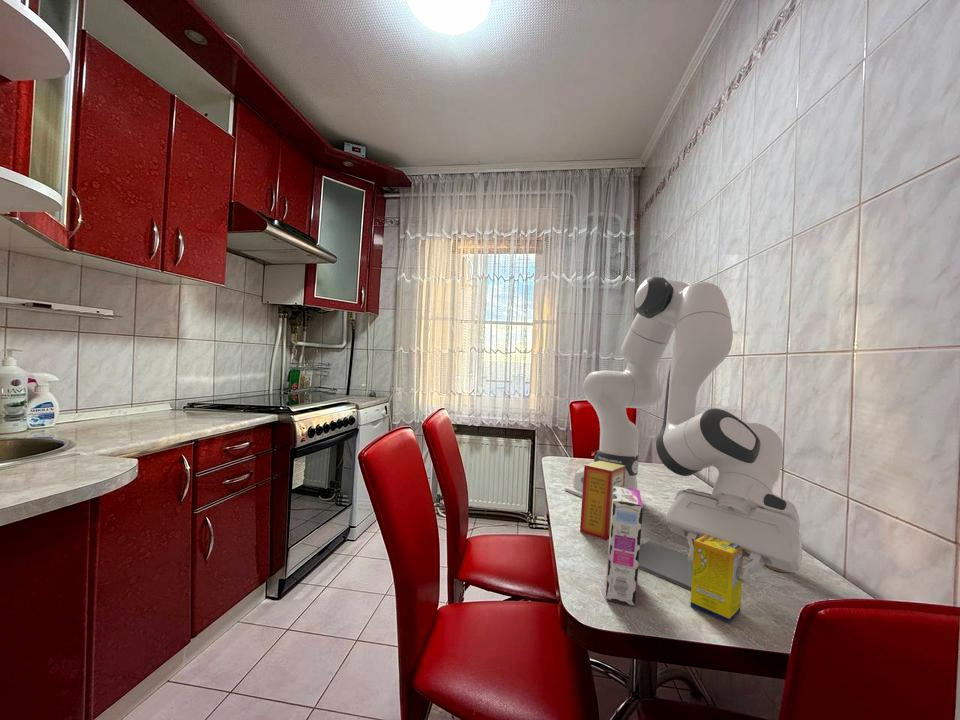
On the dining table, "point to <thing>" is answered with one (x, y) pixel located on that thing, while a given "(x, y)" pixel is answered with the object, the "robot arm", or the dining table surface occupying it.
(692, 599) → the supplement box
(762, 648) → the dining table surface
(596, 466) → the baking soda box
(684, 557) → the mat
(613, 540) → the candy bar box
